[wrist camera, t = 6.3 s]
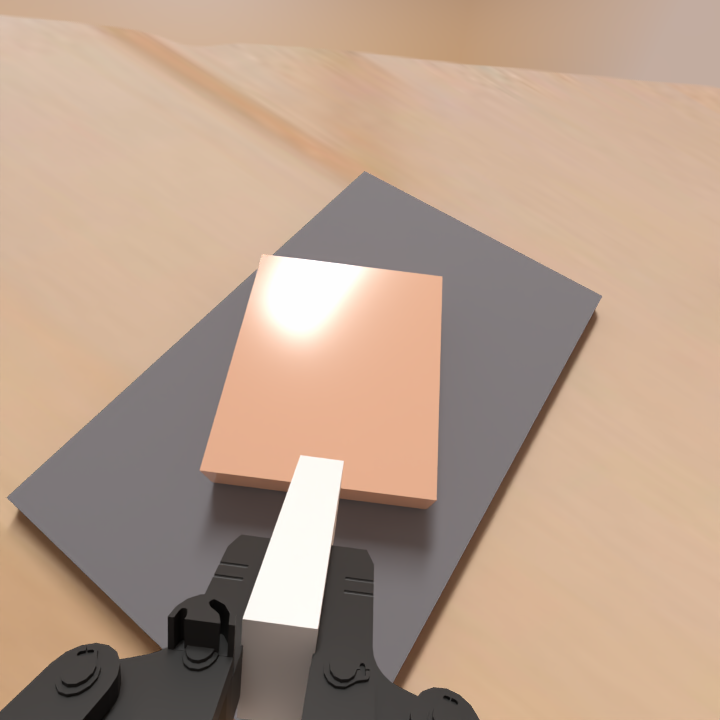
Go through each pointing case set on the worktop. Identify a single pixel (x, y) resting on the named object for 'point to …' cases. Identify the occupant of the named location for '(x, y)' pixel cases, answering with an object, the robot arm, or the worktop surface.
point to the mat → (262, 506)
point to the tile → (334, 382)
